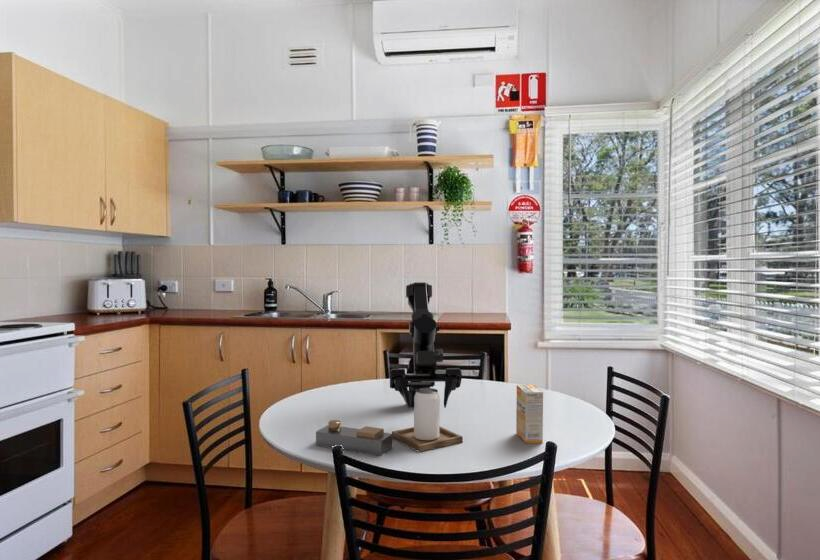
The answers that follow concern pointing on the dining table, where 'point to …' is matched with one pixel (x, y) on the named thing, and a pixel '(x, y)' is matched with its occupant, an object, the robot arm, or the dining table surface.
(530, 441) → the supplement box
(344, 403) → the dining table surface
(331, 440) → the iron block
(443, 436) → the walnut tray
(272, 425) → the dining table surface
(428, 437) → the can
